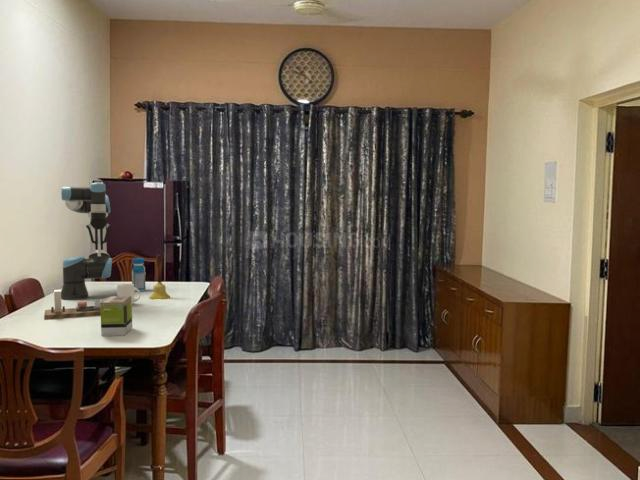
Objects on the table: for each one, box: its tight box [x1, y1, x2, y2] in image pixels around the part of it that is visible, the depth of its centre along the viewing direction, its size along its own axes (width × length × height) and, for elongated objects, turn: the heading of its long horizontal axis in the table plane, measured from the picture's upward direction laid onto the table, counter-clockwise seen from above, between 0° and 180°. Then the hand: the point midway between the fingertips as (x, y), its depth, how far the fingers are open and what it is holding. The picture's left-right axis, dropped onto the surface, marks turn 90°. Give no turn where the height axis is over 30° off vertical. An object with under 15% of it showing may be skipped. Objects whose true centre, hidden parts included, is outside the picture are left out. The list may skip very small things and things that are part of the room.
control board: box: [43, 305, 101, 320], centre depth 297 cm, size 36×14×4 cm, turn 113°
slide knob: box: [93, 298, 101, 308], centre depth 299 cm, size 4×4×5 cm
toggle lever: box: [53, 289, 62, 311], centre depth 290 cm, size 3×1×11 cm, turn 113°
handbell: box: [148, 254, 171, 300], centre depth 345 cm, size 12×12×25 cm
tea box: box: [100, 295, 133, 337], centre depth 259 cm, size 15×10×15 cm
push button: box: [76, 301, 88, 307], centre depth 296 cm, size 4×4×2 cm
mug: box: [116, 283, 141, 305], centre depth 324 cm, size 9×12×11 cm
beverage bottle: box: [131, 257, 147, 292], centre depth 370 cm, size 8×8×20 cm
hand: (99, 256), depth 321 cm, fingers closed
